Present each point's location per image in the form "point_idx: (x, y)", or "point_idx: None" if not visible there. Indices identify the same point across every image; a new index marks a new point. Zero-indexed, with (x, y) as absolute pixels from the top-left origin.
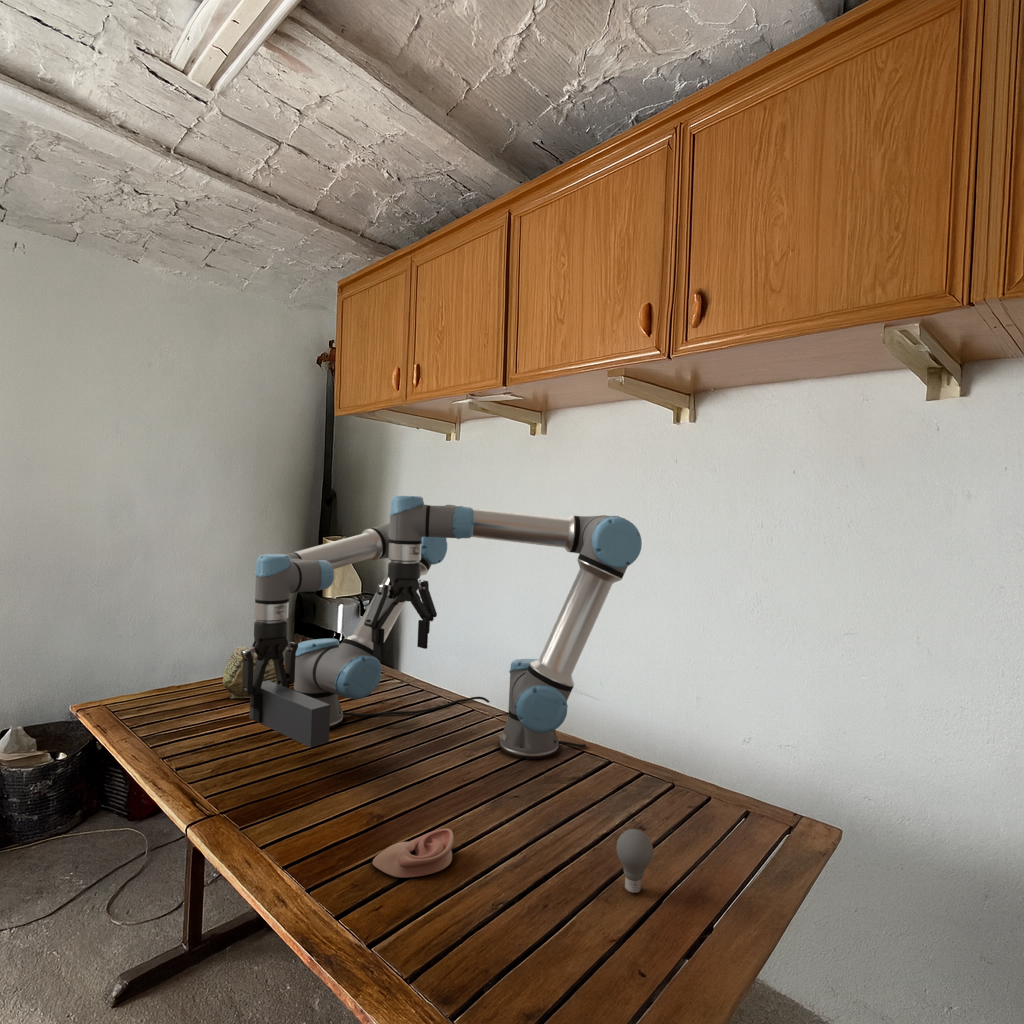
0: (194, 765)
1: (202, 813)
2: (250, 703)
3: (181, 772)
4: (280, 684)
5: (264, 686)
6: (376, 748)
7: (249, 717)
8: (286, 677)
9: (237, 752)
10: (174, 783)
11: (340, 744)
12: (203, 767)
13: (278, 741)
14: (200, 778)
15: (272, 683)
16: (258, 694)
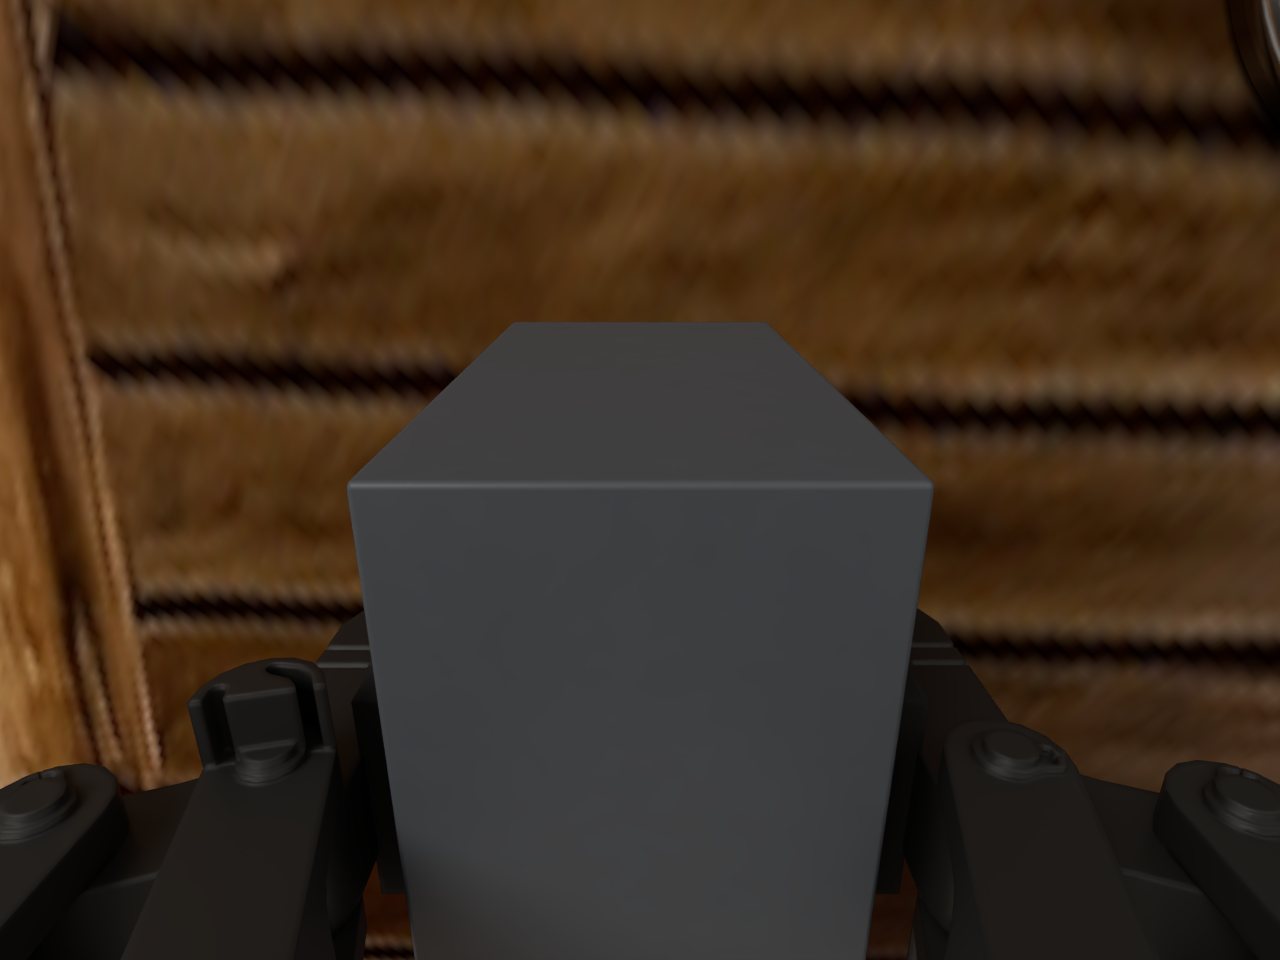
0: (195, 71)
1: (84, 745)
2: (329, 650)
3: (80, 136)
4: (943, 862)
5: (536, 870)
6: (1255, 712)
7: (511, 325)
8: (1245, 920)
9: (570, 64)
10: (5, 294)
11: (1185, 506)
12: (244, 167)
13: (948, 90)
14: (176, 343)
15: (816, 792)
16: (377, 848)
